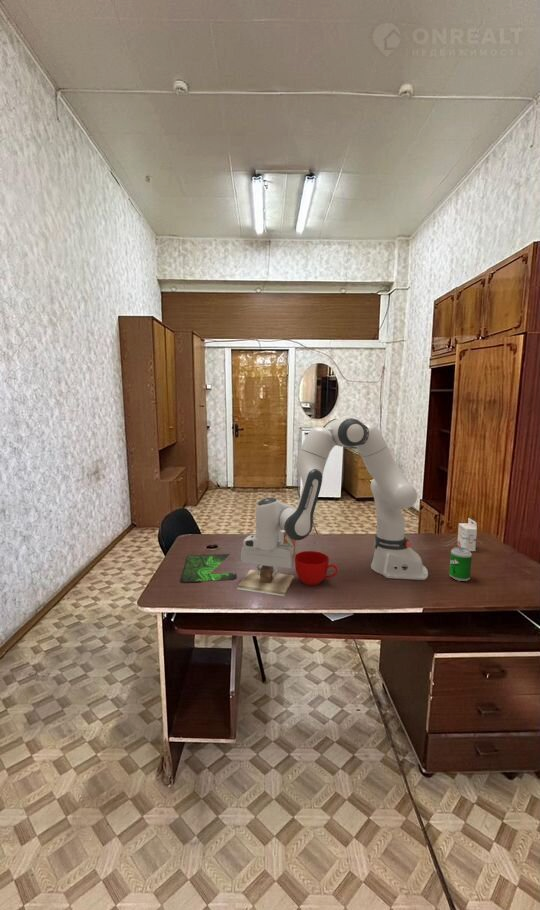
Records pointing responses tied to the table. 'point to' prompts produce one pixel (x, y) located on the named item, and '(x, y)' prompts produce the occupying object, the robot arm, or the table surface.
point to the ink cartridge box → (467, 535)
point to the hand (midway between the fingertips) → (266, 575)
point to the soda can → (460, 564)
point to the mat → (261, 591)
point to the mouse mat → (204, 569)
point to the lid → (266, 581)
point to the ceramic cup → (312, 567)
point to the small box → (286, 539)
